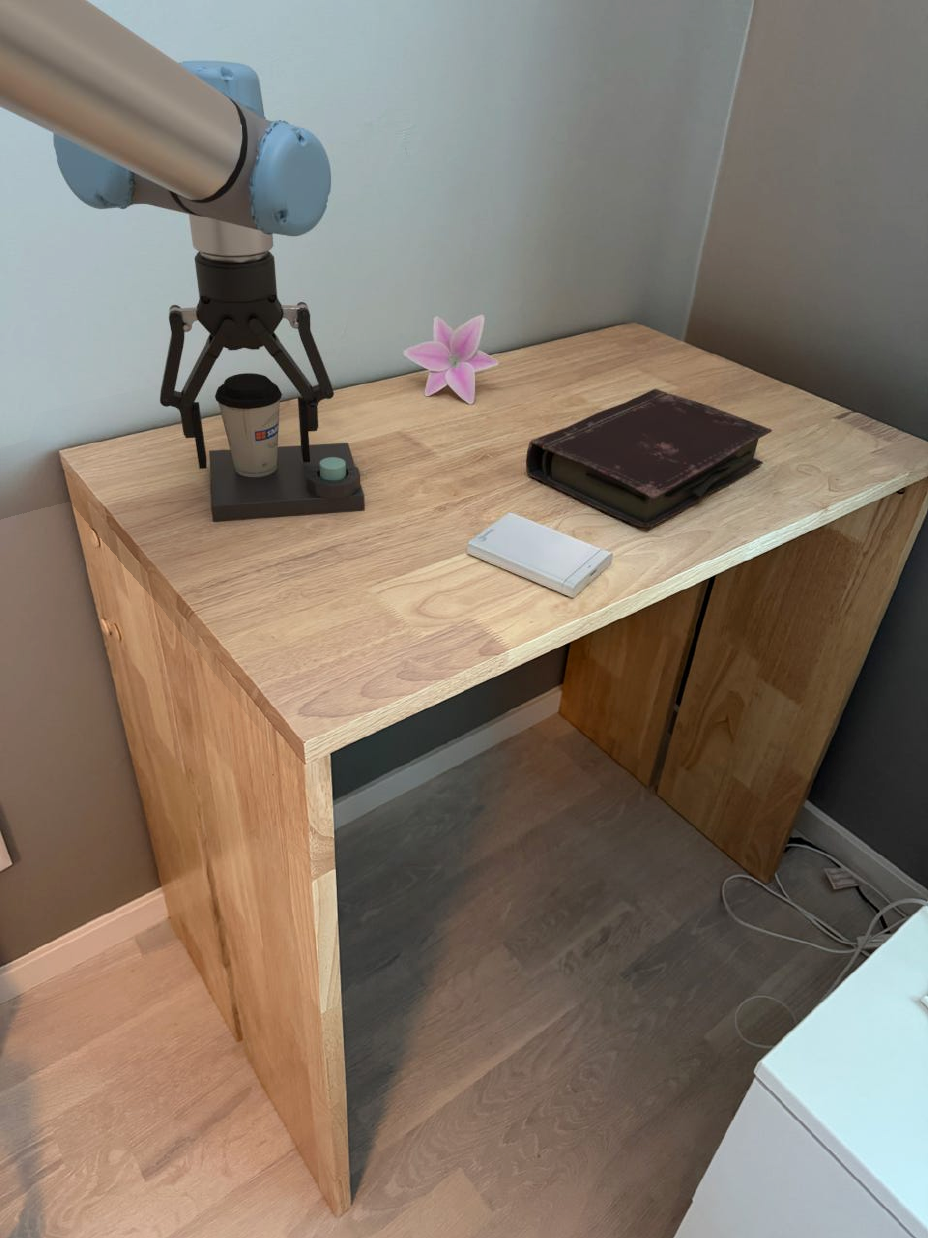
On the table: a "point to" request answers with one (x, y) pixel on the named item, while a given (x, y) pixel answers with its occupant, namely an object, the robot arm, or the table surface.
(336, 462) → the button
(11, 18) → the robot arm
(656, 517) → the diary
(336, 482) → the scale
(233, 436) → the coffee cup
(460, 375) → the lily
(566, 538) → the hard drive
